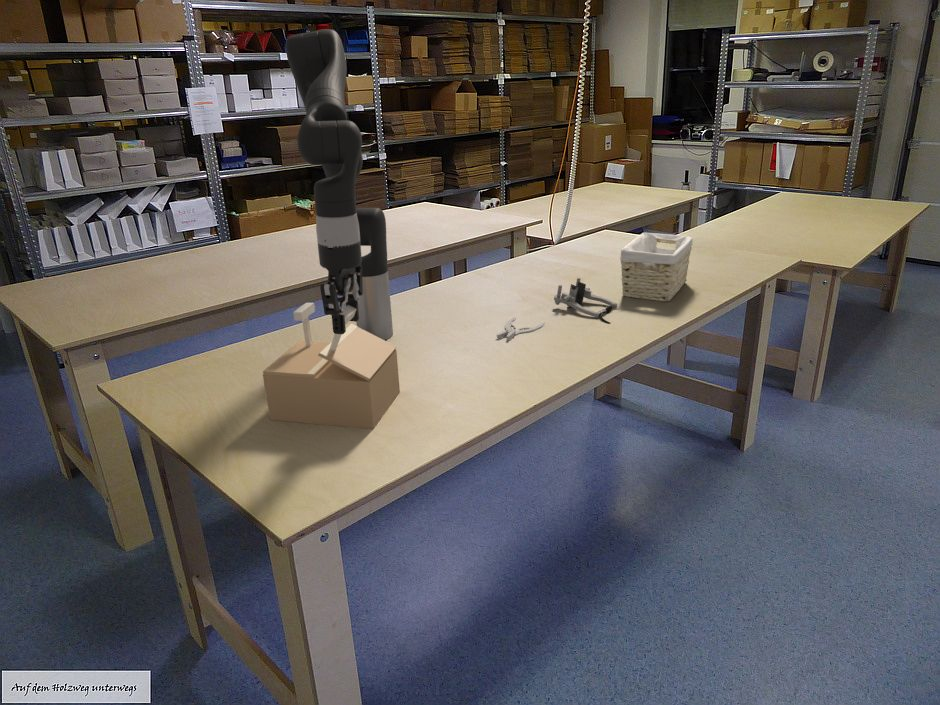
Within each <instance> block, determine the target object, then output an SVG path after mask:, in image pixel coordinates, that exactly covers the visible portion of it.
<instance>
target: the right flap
mask: <svg viewBox="0 0 940 705" xmlns="http://www.w3.org/2000/svg"><path fill="white" fill-rule="evenodd" d="M356 310H357V309H356V308H354V307H352V306H350V305H348V306H346V305H345V307H344V316H345V325H347V324H348V323H349V322H351V321H350V320H351V319H352V318H353V317H354V315H355V312H356ZM328 343H329V344H328V345H327V346H326V347H325V348H324V349H323V350H322V351H321V352H320V353H319V354H318V356H320V357H322V358H324V359H326V360H328V361H330V362H332V363H334V364H336V365H338V366H340V367H342V368H344V369H346V370H348V371H350V372H351V373H353V374H355V375H357V376H359V377H361V378H363V379H365V380H367V381H369V380H370V379H371V378H372V377H373V375H374V374H375V373H376V372H377V371H378V369H379V368H380V367H381V366H382V365H383V363H384V362H385V361H386V360H387V359H388V358H389V356H390V355H391V354H392V353H393V352H394V350H395V349H396V348H397V345H395V344H393V343H390V342H388V341H387V340H386V339H385V340H383V339H381V338H379V337H377V336H375V335H373V334H371V333H369V332H367V331H365V330H363V329H361V328H359V327H358V326H357V324H353V323H350V324H349V325H348V326H346V332H345V333H344V334H335V333H334V336H333V338H332V340H331V341H330V342H328ZM396 350H397V349H396Z"/></svg>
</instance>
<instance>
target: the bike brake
mask: <svg viewBox="0 0 940 705" xmlns="http://www.w3.org/2000/svg"><path fill="white" fill-rule="evenodd" d="M576 278H577V279H576V282H575V285H574V284H572V283H571V284H570V288H569V291H568V292H569V293H566V292H562V290H563V284H558V287H557V293H556V294H555V295H554V298H553V300H554V303H555V305H556V306H559V305H560V304H564V305H566V307H569V308H572V309H574V310H577V311H578V312H580V313H583V314H584V315H588V316H591V317H594V318H597V319H598V318H600V320H601V321H602V322H603V323H606V324H609V325H610V324H612V323H611V322H610V321H608V320H606V319H605V318H604V317H603V316H604V315H606V314H607V313H610V312H611V310H613V309H617V308H618V303H617V302H614V301H613V300H610V299H607V298H605V297H602V296H599V295H596V294H592V290H591V288H589V287H586V286H587V285H586V283H584V282H581V279H582V278H581V277H576ZM584 298H585V299H587V300H591V301H596V302H599V303H602V304H605V305H607V307H606V308H603V309H600V310H598V311H594V310H590V309H588V308H586V307H584V306H583V303H584V302H583V301H584Z"/></svg>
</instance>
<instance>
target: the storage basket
mask: <svg viewBox="0 0 940 705" xmlns="http://www.w3.org/2000/svg"><path fill="white" fill-rule="evenodd" d="M658 243H663V244H670V245H671V244H673V245H675V249H665V248H658V246H657V245H658ZM692 246H693V237H692V236H690V235H681V234H680V235H678V234H669V233H668V234H667V233H657V232H655V233H654V232H642V233H641V234H639V235H638V236H636V237H635V238H634V239H632V241H630V242H629V243H628V244H626V245H625V246H623V247H622V248H621V250H620V258H619V259H620V265H621V266H620V267H621V285H622V292H621V293H622V296H624V297H627V298H634V299H642V300H649V301H657V302H670V301H672V299H673V298H674V297H675V296H676V294H677V293H678V292H679V291H680V290H681V289H682V287H683V285H684V284H685V283H686V282H687V277H688V270H689V264H690V256H691V252H692Z"/></svg>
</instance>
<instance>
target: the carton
mask: <svg viewBox="0 0 940 705" xmlns="http://www.w3.org/2000/svg"><path fill="white" fill-rule="evenodd" d="M315 312H316V306H315V302H305V303H304V304H302V305H301V306H299V307H298V308H297V309H295V310H294V311H293V312H292V314H293V319H294V321H295V322H296V321H297V322H298V321H300V322H302V330H303V333H304V334H303V335H304V340H298V341H297V342H296V343H295V344H294V345H293V346H291V347H290V348H289V349H288V350H286V352H284V353H283V354H282V355H280V356H279V357H278V358H277V359H275V360H274V361H273V362H272V363H271V364H269V366H267V367H266V368H265V369H263V371H262V377H263V378H262V379H263V384H264V391H265V396H266V401H267V407H268V414H269V419H270V420H272V421H281V422H292V423H293V422H294V423H302V424H313V425H314V424H316V425H327V426H336V427H337V426H339V427H349V428H359V429H360V428H362V429H372V430H373V429H375V428H376V426H377V425H378V423H379V422H380V421H381V419H382V418H383V417H384V415H385V414H386V413H387V411H388V410H389V408H390V407H391V405H392V404H393V403H394V401H395V400H396V399H397V397H398V396H399V394H400V392H401V388H400V379H399V376H400V375H399V366H398V365H399V364H398V353H397V352H398V351H397V349H395V350H394V352H393V353H392V354H391V355H390V356H389V358H388V359H387V360H386V361H385V362H384V363H383V365H382V366H381V367H380V368H379V369H378V371H377V372H376V373H375V374H374V375H373V377H372V378H371V379H370V380H369V381H367V380H365V379H363V378H361V377H359V376H357V375H355V374H353V373H351V372H350V371H348V370H346V369H344V368H342V367H340V366H338V365H336V364H334V363H332V362H330V361H328V360H326V359H324V358H322V357H320V356H318V354H319V353H320V352H321V351H322V350H323V349H324V348H325V347H326V346H327V345H328V344H329V343H330V342H324V341H312V340H313V339H312V333H311V332H312V331H311V325H310V324H311V323H310V318H309V317H310V316H311V315H312V314H313V313H315Z"/></svg>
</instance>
